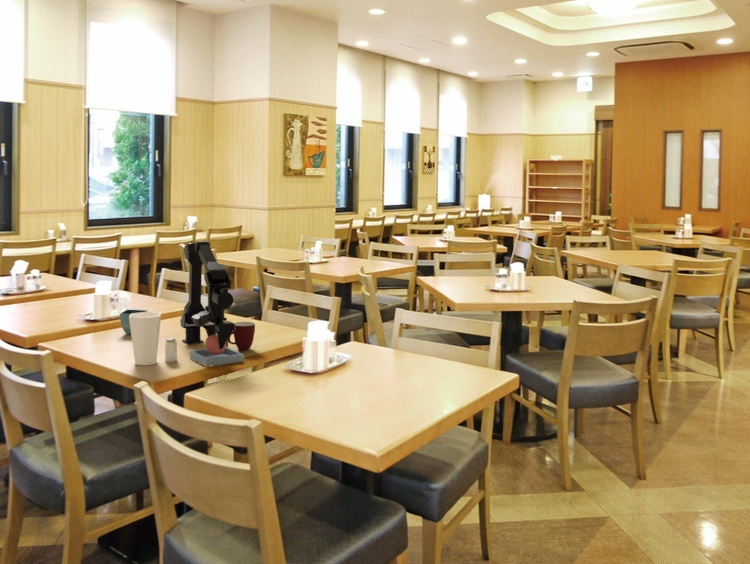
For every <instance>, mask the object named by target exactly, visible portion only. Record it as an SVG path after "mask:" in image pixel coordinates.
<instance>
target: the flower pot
mask: <svg viewBox="0 0 750 564" xmlns="http://www.w3.org/2000/svg"><path fill="white" fill-rule="evenodd" d="M140 312H149V310H148V309H147V310H146V309H144V310H143V309H125V310H124V311H122V312H120V313H119V319H120V325H121V328H122V330H123V332H124V333H125V334H126V335H131V329H130V322H129V316H130V314H132V313H140Z"/></svg>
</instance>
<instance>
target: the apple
mask: <svg viewBox="0 0 750 564" xmlns="http://www.w3.org/2000/svg"><path fill="white" fill-rule="evenodd" d="M204 344H205V349H207V350H208V352H209V353H210V354H213V355H219V354H221V353H223V352H224V350H225V348H226V344H227V342H226V343H225V345H224V347H223V348H222V349H220V348H219V342H218V335H217V334H216V333H215V335H210V336H209V337H208V336H207V337H206V339H205V341H204Z"/></svg>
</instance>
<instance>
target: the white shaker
mask: <svg viewBox="0 0 750 564" xmlns="http://www.w3.org/2000/svg"><path fill="white" fill-rule="evenodd" d="M164 353H165V354H164V358H165V359H164V361H165V363H175V362H174V361H176V362H177V361H178V341H177V340H176V338H172V337H170V338H166V339H165V341H164Z"/></svg>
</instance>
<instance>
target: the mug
mask: <svg viewBox="0 0 750 564" xmlns="http://www.w3.org/2000/svg"><path fill="white" fill-rule="evenodd" d="M233 323H234V324H235V325H236V330H235V331H232V332H231V333H230V335H229V337H228V339H227V340H228V344H230V345H236V348H237V350H239V351H240V350H244V351H243V352H245V350H247V351H250V349H251V347H252V345H253V342H254V336H255V333H256V332H255V331H256V325H255V324H256V323H254V322H252V321H237V322H233ZM232 335H233V338H234V341H231V336H232Z"/></svg>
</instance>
